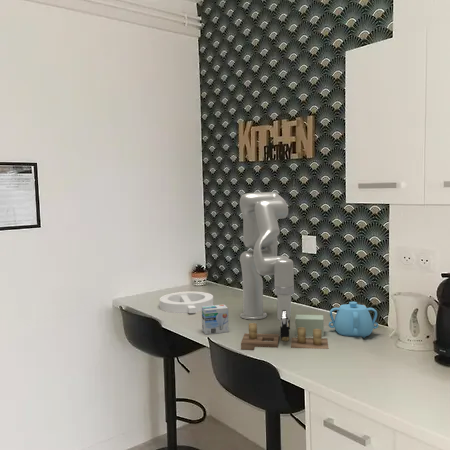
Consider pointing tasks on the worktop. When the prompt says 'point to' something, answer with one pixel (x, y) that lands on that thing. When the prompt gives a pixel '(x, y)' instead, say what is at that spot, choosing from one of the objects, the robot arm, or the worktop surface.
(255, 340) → the build board
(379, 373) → the worktop surface
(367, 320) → the decorative pot
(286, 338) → the pin
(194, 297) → the ring with crossbar
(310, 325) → the cover
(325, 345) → the board
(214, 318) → the light bulb box
